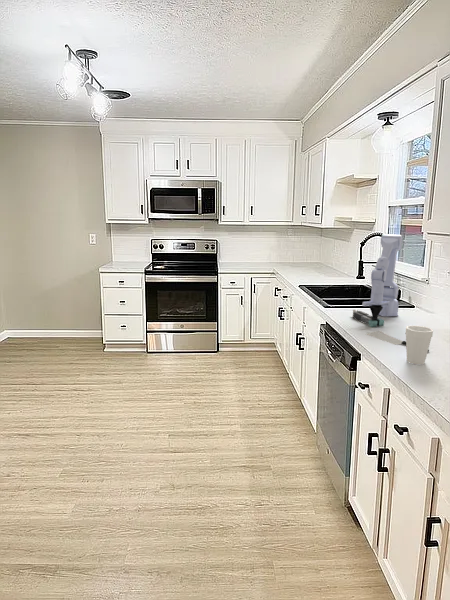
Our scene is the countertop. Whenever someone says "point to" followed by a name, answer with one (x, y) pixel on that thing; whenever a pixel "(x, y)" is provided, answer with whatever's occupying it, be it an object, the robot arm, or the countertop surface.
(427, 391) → the countertop surface
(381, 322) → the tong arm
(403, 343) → the kitchen cleaver
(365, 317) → the tongs fixed arm
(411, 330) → the foam cup
